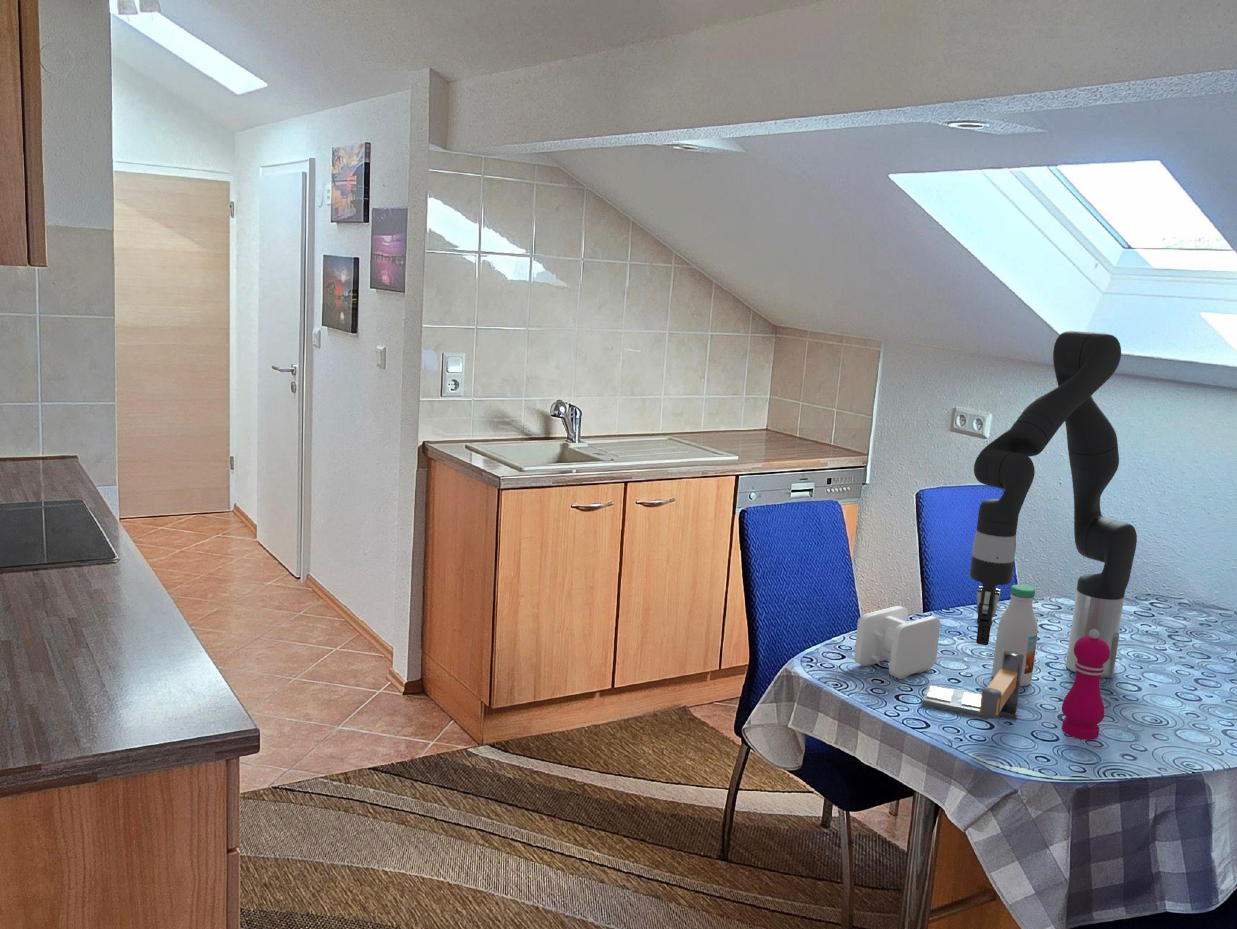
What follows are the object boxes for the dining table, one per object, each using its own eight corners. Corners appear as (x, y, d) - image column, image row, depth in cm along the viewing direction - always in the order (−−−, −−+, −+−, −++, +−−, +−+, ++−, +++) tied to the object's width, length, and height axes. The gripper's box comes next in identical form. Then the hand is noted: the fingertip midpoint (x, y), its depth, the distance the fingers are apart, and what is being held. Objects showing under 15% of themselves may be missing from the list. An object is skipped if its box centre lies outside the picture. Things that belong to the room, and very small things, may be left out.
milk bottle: (1012, 689, 212) (1025, 594, 208) (983, 675, 218) (995, 583, 215) (1039, 684, 215) (1052, 591, 212) (1009, 670, 222) (1021, 580, 218)
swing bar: (997, 687, 197) (1000, 664, 196) (1015, 691, 196) (1018, 669, 195) (977, 715, 184) (980, 692, 183) (996, 720, 182) (999, 696, 181)
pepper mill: (1051, 723, 196) (1065, 622, 192) (1088, 724, 197) (1103, 623, 193) (1070, 741, 189) (1086, 636, 185) (1109, 741, 190) (1125, 637, 186)
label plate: (990, 701, 205) (991, 694, 205) (987, 719, 197) (988, 711, 196) (927, 689, 209) (928, 682, 209) (921, 705, 201) (922, 698, 201)
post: (1017, 711, 201) (1025, 652, 198) (1016, 719, 197) (1024, 659, 195) (995, 707, 202) (1003, 648, 200) (994, 715, 199) (1001, 655, 196)
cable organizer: (891, 683, 212) (897, 629, 209) (850, 666, 220) (856, 613, 217) (936, 669, 221) (942, 616, 219) (895, 653, 229) (900, 602, 227)
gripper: (1012, 567, 189) (1000, 658, 192) (1016, 550, 201) (1005, 636, 204) (969, 560, 192) (958, 650, 195) (975, 544, 204) (964, 629, 207)
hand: (982, 643), depth 199 cm, fingers closed
